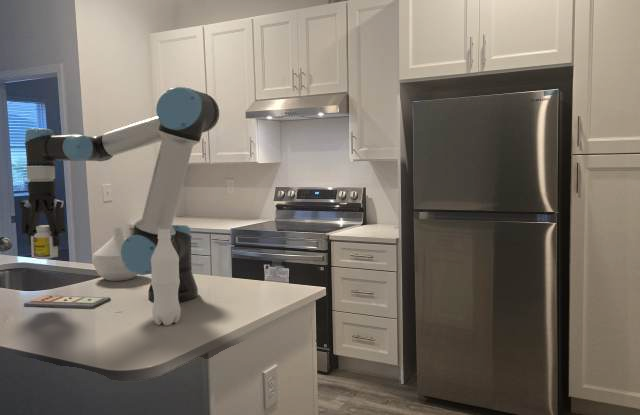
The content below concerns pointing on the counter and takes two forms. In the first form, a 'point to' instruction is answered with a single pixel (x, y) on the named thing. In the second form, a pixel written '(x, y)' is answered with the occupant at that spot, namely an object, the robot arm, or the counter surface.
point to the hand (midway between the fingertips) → (44, 256)
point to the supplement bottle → (42, 242)
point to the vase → (112, 259)
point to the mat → (68, 301)
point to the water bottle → (165, 280)
